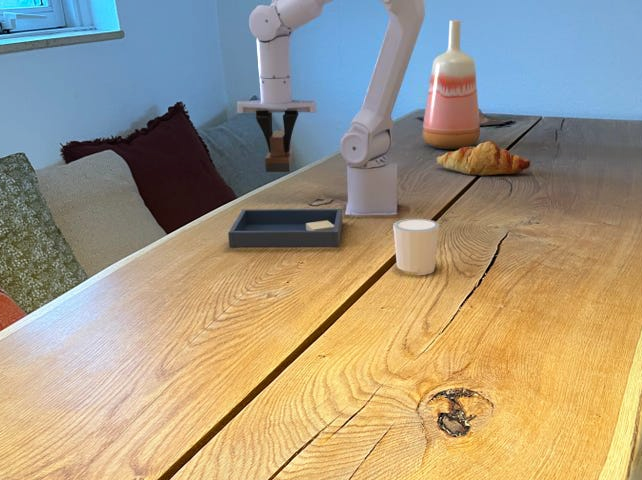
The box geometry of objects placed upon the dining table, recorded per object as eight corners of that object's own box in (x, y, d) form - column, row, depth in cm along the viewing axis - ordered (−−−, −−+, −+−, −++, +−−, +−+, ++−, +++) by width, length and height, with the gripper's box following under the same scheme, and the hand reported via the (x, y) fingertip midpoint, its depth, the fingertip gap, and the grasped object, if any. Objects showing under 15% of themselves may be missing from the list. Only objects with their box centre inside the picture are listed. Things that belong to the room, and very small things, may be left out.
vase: (488, 144, 204) (495, 19, 191) (462, 154, 194) (467, 22, 180) (439, 139, 211) (442, 18, 198) (411, 148, 201) (412, 21, 187)
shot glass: (443, 264, 122) (445, 219, 119) (431, 279, 116) (432, 232, 113) (401, 259, 124) (401, 216, 121) (387, 274, 118) (386, 228, 115)
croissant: (433, 186, 179) (428, 158, 173) (443, 157, 185) (439, 128, 179) (527, 191, 173) (526, 162, 167) (534, 160, 179) (533, 131, 172)
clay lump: (327, 226, 138) (327, 220, 137) (336, 233, 135) (335, 226, 134) (306, 229, 137) (305, 223, 136) (313, 236, 133) (313, 229, 133)
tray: (342, 225, 141) (342, 208, 139) (338, 250, 128) (337, 231, 127) (243, 226, 141) (241, 209, 139) (229, 250, 128) (228, 232, 127)
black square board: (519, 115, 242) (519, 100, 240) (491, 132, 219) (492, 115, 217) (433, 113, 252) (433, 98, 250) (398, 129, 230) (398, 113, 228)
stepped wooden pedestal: (294, 161, 157) (292, 129, 155) (289, 172, 149) (287, 138, 146) (271, 161, 157) (269, 129, 155) (265, 172, 149) (263, 138, 146)
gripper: (316, 74, 149) (319, 147, 156) (239, 74, 150) (245, 147, 156) (313, 78, 143) (316, 154, 149) (232, 79, 143) (239, 155, 149)
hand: (279, 151), depth 152 cm, fingers closed on stepped wooden pedestal, 2 cm apart
